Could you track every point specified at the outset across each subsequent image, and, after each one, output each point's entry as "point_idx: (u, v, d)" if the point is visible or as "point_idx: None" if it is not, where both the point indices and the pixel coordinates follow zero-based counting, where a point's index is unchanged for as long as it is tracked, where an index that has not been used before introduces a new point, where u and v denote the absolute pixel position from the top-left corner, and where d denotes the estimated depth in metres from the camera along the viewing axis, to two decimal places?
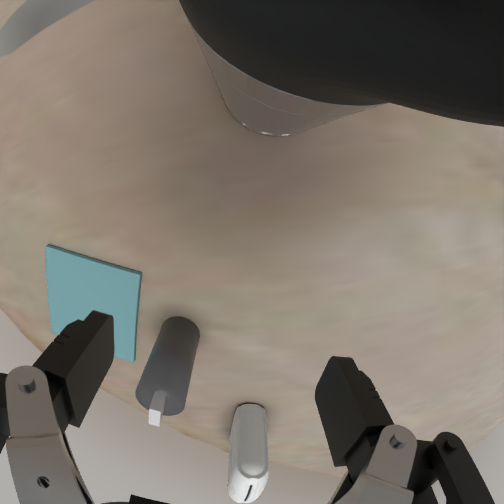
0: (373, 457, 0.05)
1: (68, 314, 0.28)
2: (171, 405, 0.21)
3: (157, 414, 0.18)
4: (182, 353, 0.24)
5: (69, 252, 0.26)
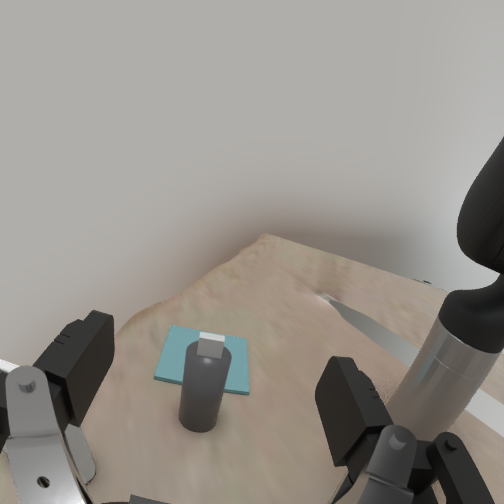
0: (373, 457, 0.05)
1: (194, 341, 0.41)
2: (205, 360, 0.24)
3: (219, 339, 0.24)
4: (221, 396, 0.26)
5: (246, 352, 0.42)
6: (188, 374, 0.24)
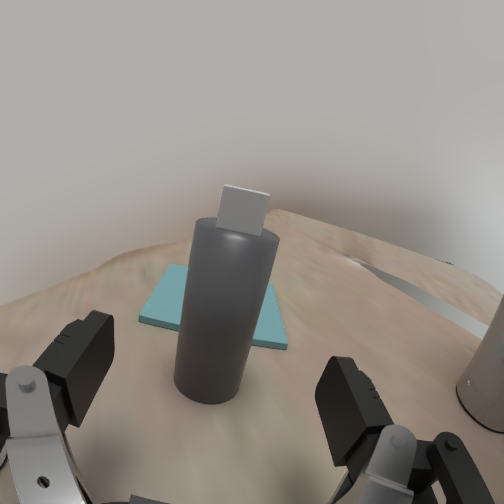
0: (373, 457, 0.05)
1: None
2: (232, 233, 0.13)
3: (260, 192, 0.14)
4: (254, 325, 0.15)
5: None
6: (196, 266, 0.13)
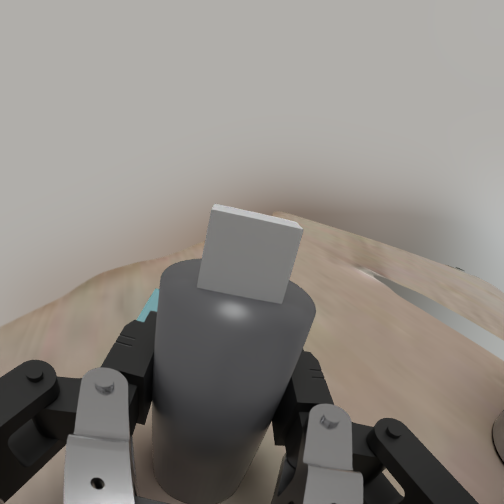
0: (307, 443, 0.05)
1: None
2: (228, 303, 0.07)
3: (283, 223, 0.07)
4: (266, 430, 0.08)
5: None
6: (163, 360, 0.07)
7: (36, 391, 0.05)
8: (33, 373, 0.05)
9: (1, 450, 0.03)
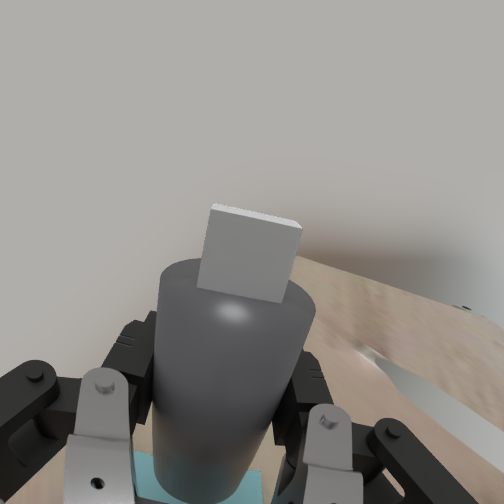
0: (307, 443, 0.05)
1: None
2: (227, 303, 0.07)
3: (282, 222, 0.07)
4: (266, 429, 0.08)
5: (261, 501, 0.17)
6: (163, 360, 0.07)
7: (36, 391, 0.05)
8: (34, 373, 0.05)
9: (1, 450, 0.03)
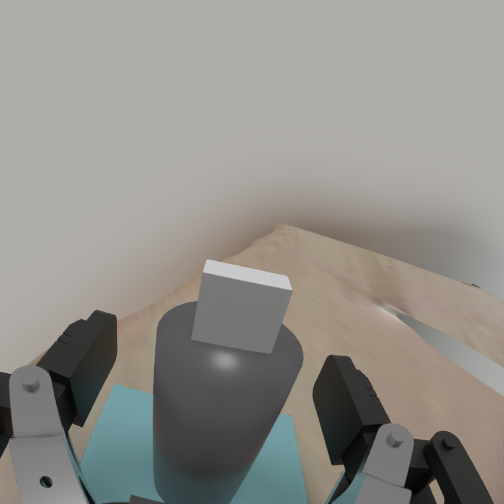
0: (370, 456, 0.05)
1: None
2: (220, 357, 0.07)
3: (273, 282, 0.07)
4: (257, 454, 0.09)
5: None
6: (162, 402, 0.07)
7: None
8: None
9: None
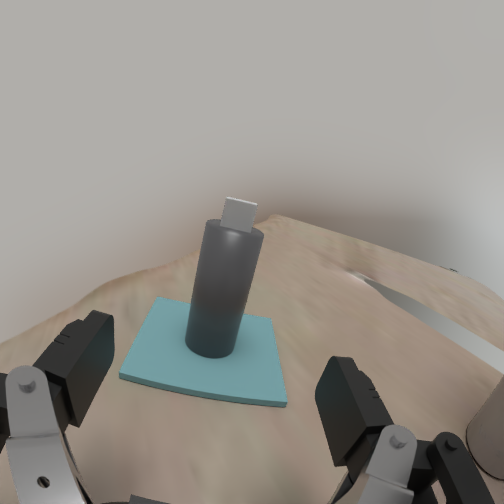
0: (373, 457, 0.05)
1: None
2: (230, 230, 0.20)
3: (250, 203, 0.20)
4: (246, 296, 0.21)
5: None
6: (206, 252, 0.20)
7: None
8: None
9: None
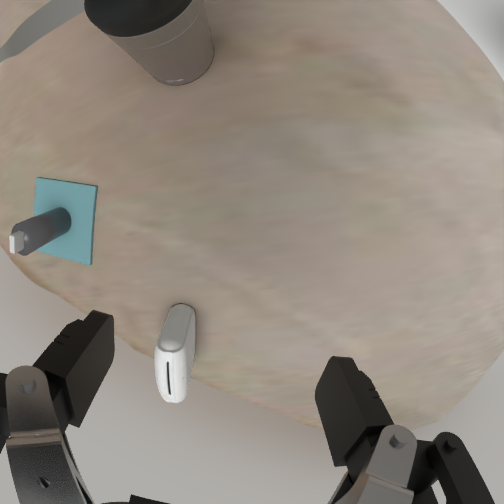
0: (373, 457, 0.05)
1: None
2: (26, 243, 0.27)
3: (12, 239, 0.25)
4: (46, 218, 0.31)
5: (51, 179, 0.35)
6: (36, 249, 0.30)
7: None
8: None
9: None
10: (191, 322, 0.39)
